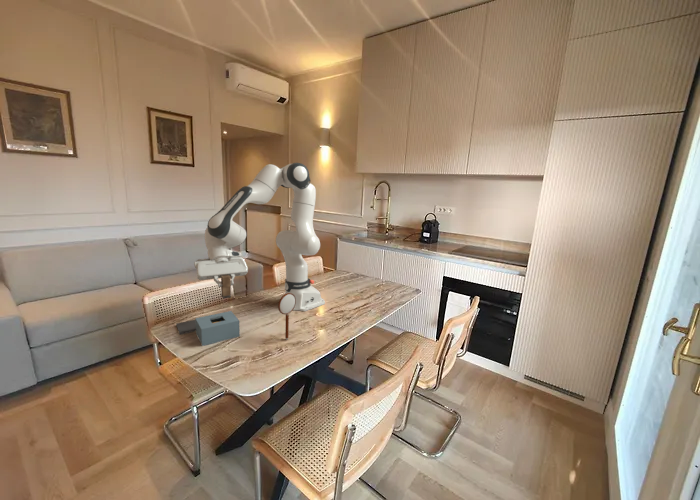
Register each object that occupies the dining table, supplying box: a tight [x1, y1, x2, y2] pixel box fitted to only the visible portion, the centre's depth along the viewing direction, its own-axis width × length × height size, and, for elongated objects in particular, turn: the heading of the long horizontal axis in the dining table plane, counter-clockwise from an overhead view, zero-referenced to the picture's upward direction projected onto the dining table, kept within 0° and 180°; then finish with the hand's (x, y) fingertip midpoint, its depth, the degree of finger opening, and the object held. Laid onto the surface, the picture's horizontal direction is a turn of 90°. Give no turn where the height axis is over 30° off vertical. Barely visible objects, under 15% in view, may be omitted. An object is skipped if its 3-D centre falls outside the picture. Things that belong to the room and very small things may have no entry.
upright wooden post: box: [220, 275, 232, 299], centre depth 124 cm, size 3×3×9 cm
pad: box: [175, 319, 196, 335], centre depth 126 cm, size 9×9×1 cm
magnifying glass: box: [277, 293, 296, 341], centre depth 118 cm, size 9×2×20 cm, turn 142°
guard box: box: [194, 310, 241, 347], centre depth 120 cm, size 14×11×7 cm
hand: (226, 285), depth 123 cm, fingers closed on upright wooden post, 3 cm apart
